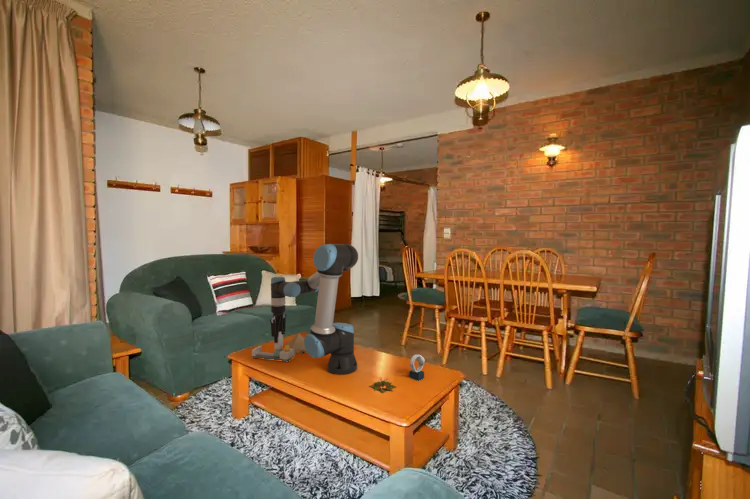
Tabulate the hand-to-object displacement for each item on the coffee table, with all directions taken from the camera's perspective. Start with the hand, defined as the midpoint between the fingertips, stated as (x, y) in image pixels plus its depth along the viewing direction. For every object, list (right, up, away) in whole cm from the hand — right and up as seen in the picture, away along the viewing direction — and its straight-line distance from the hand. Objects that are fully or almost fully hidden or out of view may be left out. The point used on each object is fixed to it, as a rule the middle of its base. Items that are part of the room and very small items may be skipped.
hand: (278, 347), depth 184 cm
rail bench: (-3, -7, +1) cm, 7 cm away
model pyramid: (+8, -7, +16) cm, 19 cm away
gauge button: (+5, -3, -1) cm, 6 cm away
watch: (+73, -8, -25) cm, 77 cm away
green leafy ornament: (+57, -9, -34) cm, 67 cm away
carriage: (0, -5, 0) cm, 5 cm away
